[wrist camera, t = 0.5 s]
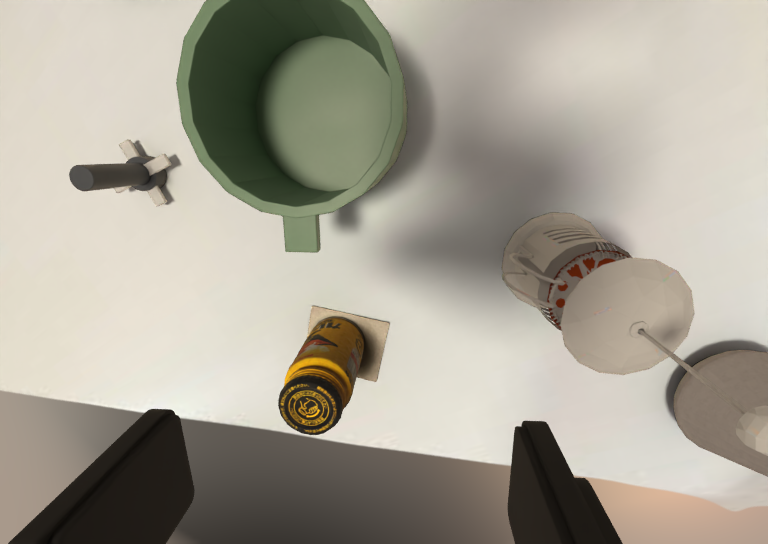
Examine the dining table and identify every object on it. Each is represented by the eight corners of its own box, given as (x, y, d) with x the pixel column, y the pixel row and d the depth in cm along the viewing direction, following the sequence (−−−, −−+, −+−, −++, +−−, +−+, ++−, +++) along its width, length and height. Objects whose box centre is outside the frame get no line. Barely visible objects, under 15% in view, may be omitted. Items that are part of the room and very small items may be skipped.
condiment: (312, 305, 41) (272, 363, 30) (389, 322, 41) (379, 387, 30) (303, 364, 43) (262, 439, 32) (376, 380, 43) (362, 461, 32)
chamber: (260, 224, 39) (200, 252, 28) (239, -7, 33) (151, -86, 22) (405, 227, 38) (401, 256, 27) (409, -11, 32) (406, -97, 21)
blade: (107, 156, 38) (25, 157, 30) (158, 127, 37) (87, 120, 29) (143, 215, 40) (75, 231, 32) (194, 189, 38) (136, 198, 30)
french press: (581, 319, 39) (837, 574, 15) (471, 289, 39) (557, 499, 15) (623, 227, 36) (1021, 367, 12) (504, 195, 36) (674, 274, 12)
